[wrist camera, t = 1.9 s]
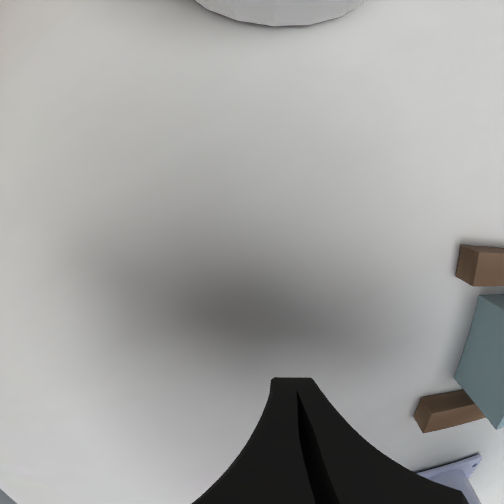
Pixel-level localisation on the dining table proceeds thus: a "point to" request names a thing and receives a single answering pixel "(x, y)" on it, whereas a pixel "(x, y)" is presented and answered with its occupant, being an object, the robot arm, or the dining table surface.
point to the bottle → (281, 10)
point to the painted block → (485, 359)
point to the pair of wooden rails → (459, 403)
